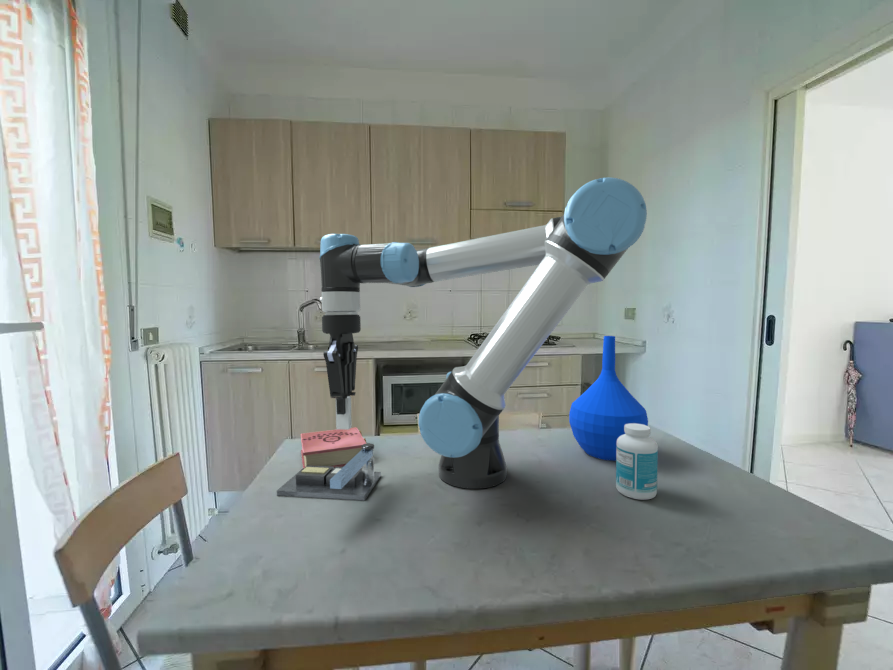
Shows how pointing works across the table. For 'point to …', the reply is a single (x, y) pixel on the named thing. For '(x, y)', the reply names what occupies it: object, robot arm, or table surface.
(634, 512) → the table surface
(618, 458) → the pill bottle
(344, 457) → the book
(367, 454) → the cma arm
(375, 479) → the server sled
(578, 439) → the vase
